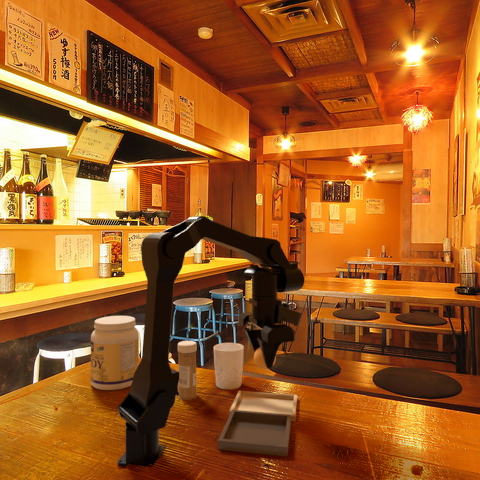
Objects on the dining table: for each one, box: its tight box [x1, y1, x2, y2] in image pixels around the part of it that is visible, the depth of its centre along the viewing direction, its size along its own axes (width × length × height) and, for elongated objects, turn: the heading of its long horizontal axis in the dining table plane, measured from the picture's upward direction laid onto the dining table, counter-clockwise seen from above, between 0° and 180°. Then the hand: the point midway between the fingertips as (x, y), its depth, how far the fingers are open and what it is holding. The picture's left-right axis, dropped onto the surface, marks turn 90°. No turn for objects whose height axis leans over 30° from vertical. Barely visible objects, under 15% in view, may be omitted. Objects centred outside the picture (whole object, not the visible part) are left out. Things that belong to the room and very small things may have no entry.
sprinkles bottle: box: [177, 340, 198, 401], centre depth 92 cm, size 5×5×14 cm
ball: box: [253, 347, 277, 370], centre depth 86 cm, size 5×5×5 cm
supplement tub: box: [90, 315, 140, 391], centre depth 102 cm, size 12×12×17 cm
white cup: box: [213, 342, 245, 390], centre depth 101 cm, size 8×8×10 cm
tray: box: [228, 390, 298, 422], centre depth 86 cm, size 11×14×2 cm
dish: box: [217, 410, 292, 457], centre depth 74 cm, size 12×12×2 cm
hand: (264, 364), depth 86 cm, fingers closed on ball, 5 cm apart
